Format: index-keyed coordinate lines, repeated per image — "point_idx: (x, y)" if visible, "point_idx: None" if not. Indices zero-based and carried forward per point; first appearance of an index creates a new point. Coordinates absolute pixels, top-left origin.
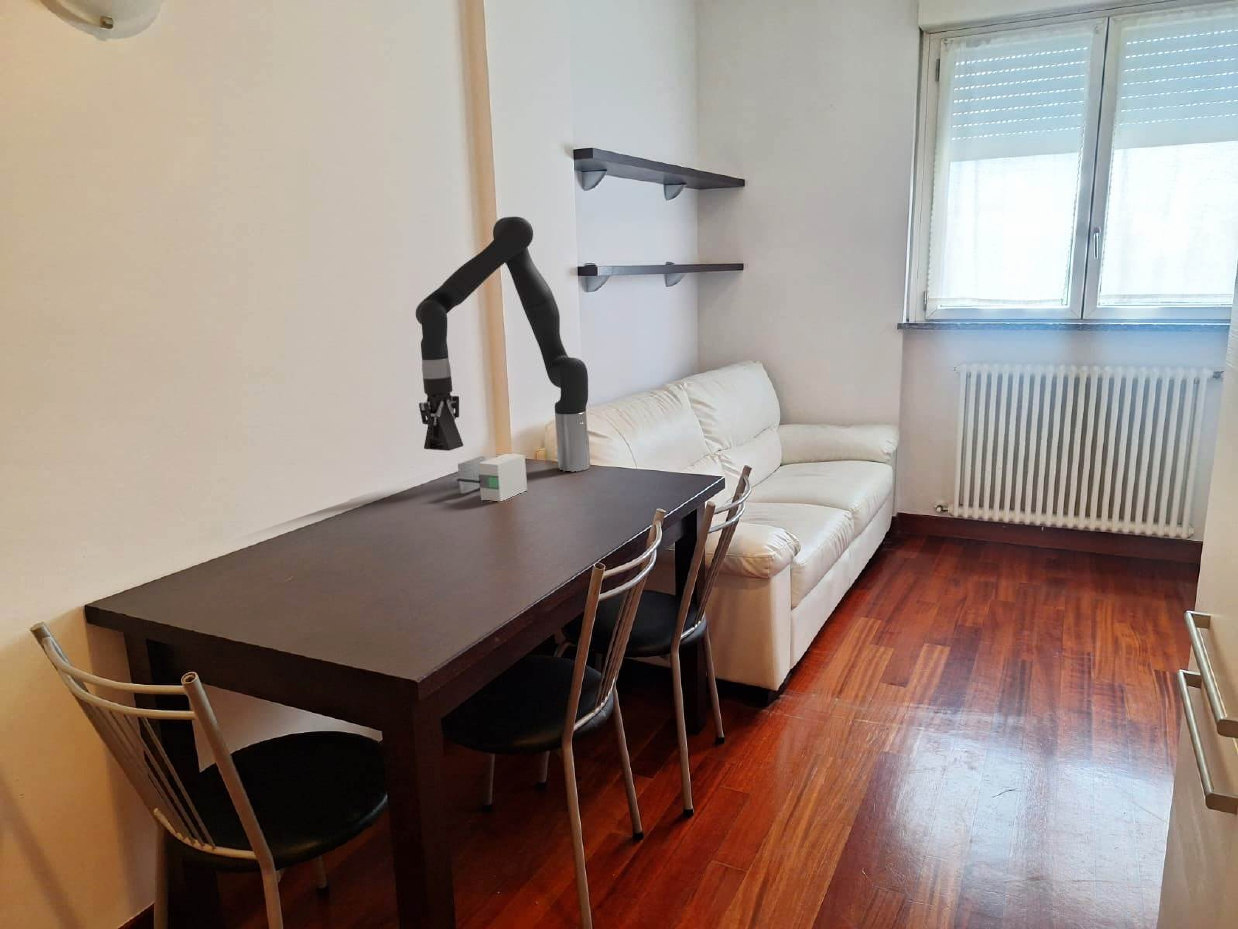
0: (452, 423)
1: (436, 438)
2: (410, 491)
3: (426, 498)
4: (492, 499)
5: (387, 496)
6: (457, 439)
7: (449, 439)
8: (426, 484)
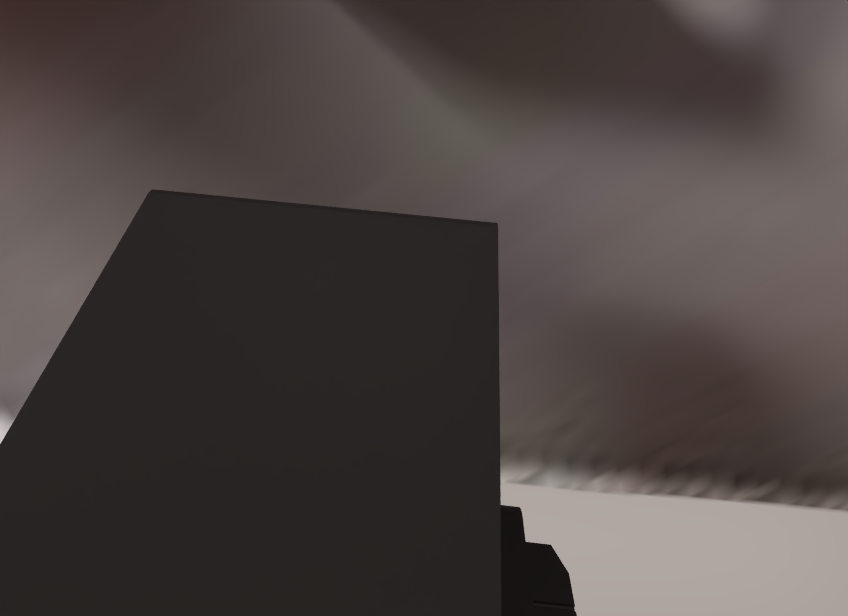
0: (32, 591)
1: (520, 513)
2: None
3: (646, 226)
4: None
5: (620, 480)
6: (208, 277)
7: (404, 332)
8: None
